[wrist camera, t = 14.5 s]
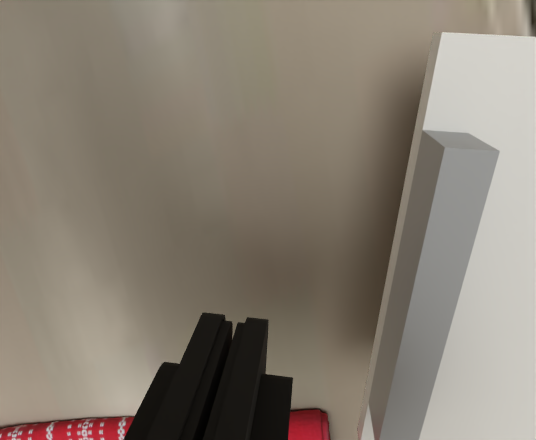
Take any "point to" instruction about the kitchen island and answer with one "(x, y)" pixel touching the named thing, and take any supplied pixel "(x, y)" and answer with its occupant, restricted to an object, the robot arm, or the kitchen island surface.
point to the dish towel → (114, 429)
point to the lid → (463, 255)
